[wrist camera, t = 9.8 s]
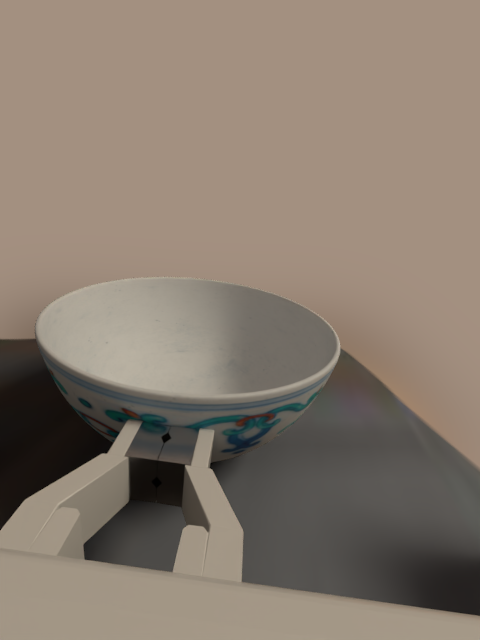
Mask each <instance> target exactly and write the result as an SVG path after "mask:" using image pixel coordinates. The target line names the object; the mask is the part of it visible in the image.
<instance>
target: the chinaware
mask: <svg viewBox="0 0 480 640" xmlns="http://www.w3.org/2000/svg"><path fill="white" fill-rule="evenodd" d="M35 336H36V340H37V344H38V347H39V349H40V352H41V354H42V357H43V359H44V361H45V364H46V366H47V368H48V370H49V372H50V374H51V376H52V378H53V380H54V381H55V383H56V385H57V387H58V388H59V390H60V391H61V393H62V394H63V396H64V397H65V399H66V400H67V401H68V403H69V404H70V405H71V406H72V408H73V409H74V410H75V411H76V412H77V414H78V415H79V416H80V417H81V418H82V419H83V420H84V421H85V422H86V423H87V424H88V425H90V426H91V427H92V428H93V429H94V430H95V431H97V432H98V433H99V434H101V435H102V436H103V437H105V438H106V439H108V440H110V441H111V442H113V443H114V441H115V440H116V438H117V436H118V435H119V433H120V431H121V430H122V428H123V426H124V425H125V423H126V422H127V420H129V419H134V420H140V421H144V422H150V423H156V424H163V425H170V426H179V427H189V428H198V429H200V428H202V429H210V430H214V440H213V448H212V456H211V463H212V462H216V461H221V460H226V459H230V458H233V457H237V456H240V455H242V454H245V453H248V452H250V451H252V450H254V449H256V448H259V447H260V446H262V445H264V444H266V443H268V442H269V441H271V440H273V439H274V438H276V437H277V436H278V435H280V434H281V433H282V432H284V431H285V430H286V429H287V428H289V427H290V426H291V425H292V424H293V423H294V422H295V421H296V420H297V419H298V418H299V417H300V416H301V415H302V414H303V413H304V412H305V411H306V409H307V408H308V407H309V406H310V405H311V403H312V402H313V401H314V400H315V398H316V397H317V395H318V394H319V392H320V391H321V389H322V388H323V386H324V385H325V383H326V382H327V380H328V378H329V376H330V374H331V373H332V371H333V369H334V367H335V365H336V363H337V360H338V358H339V354H340V342H339V338H338V336H337V334H336V332H335V331H334V329H333V328H332V327H331V325H330V324H329V323H328V322H327V321H325V320H324V319H323V318H322V317H321V316H319V315H318V314H317V313H315V312H314V311H312V310H310V309H309V308H306V307H305V306H303V305H301V304H299V303H297V302H295V301H292V300H290V299H288V298H285V297H283V296H280V295H277V294H274V293H271V292H268V291H264V290H261V289H257V288H253V287H249V286H245V285H239V284H234V283H229V282H223V281H216V280H208V279H198V278H183V277H144V278H131V279H123V280H115V281H109V282H104V283H99V284H94V285H90V286H87V287H84V288H80V289H77V290H75V291H72V292H70V293H67V294H65V295H63V296H61V297H59V298H58V299H56V300H54V301H53V302H51V303H50V304H49V305H48V306H47V307H45V308H44V309H43V311H42V312H41V313H40V315H39V316H38V318H37V321H36V324H35Z"/></svg>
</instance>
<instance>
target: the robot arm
mask: <svg viewBox="0 0 480 640" xmlns="http://www.w3.org/2000/svg"><path fill="white" fill-rule="evenodd" d="M213 440H214V430H210V429H202V428H200V429H198V428H189V427H179V426H170V425H163V424H156V423H150V422H144V421H140V420H134V419H129V420H127V422H126V423H125V425H124V426H123V428H122V430H121V431H120V433H119V435H118V436H117V438H116V440H115V441H114V443H113V444H112V446H111V448H110V449H109V451H108V453H107V454H103V453H102V454H100V455H99V456H97V457H95V458H94V459H92V460H90V461H89V462H87V463H85V464H84V465H82V466H80V467H79V468H77V469H75V470H74V471H72V472H70V473H69V474H67V475H65V476H64V477H62V478H60V479H59V480H57V481H55V482H54V483H52V484H50V485H49V486H47V487H45V488H44V489H42V490H40V491H39V492H37V493H35V494H34V495H32V496H30V497H29V498H27V499H25V500H24V501H23V503H22V504H21V505H20V506H19V508H18V509H17V510H16V511H15V513H14V514H13V515H12V516H11V518H10V519H9V520H8V521H7V523H6V524H5V525H4V526H3V528H2V529H1V530H0V640H480V616H477V615H470V614H463V613H456V612H449V611H442V610H435V609H428V608H421V607H414V606H407V605H400V604H393V603H386V602H379V601H372V600H365V599H358V598H351V597H344V596H337V595H330V594H323V593H316V592H309V591H302V590H295V589H288V588H281V587H274V586H267V585H260V584H253V583H246V582H241V580H242V555H243V530H242V528H241V526H240V524H239V522H238V520H237V518H236V516H235V514H234V512H233V510H232V508H231V506H230V504H229V502H228V500H227V498H226V496H225V494H224V492H223V490H222V488H221V486H220V484H219V482H218V480H217V478H216V476H215V474H214V472H213V470H212V469H210V463H211V456H212V448H213ZM129 500H136V501H145V502H154V503H160V504H166V505H172V506H178V507H182V511H183V515H184V518H185V522H186V525H187V526H186V527H185V528H184V529H183V531H182V536H181V540H180V544H179V548H178V552H177V556H176V560H175V564H174V568H173V572H168V571H161V570H154V569H147V568H140V567H132V566H125V565H118V564H111V563H104V562H97V561H90V560H85V558H84V548H83V544H84V543H85V542H86V541H87V540H88V539H89V538H91V537H92V536H93V535H94V534H95V533H96V532H97V531H98V530H99V529H100V528H101V527H102V526H103V525H104V524H106V523H107V522H108V521H109V520H110V519H111V518H112V517H113V516H114V515H115V514H116V513H117V512H118V511H119V510H120V509H122V508H123V507H124V506H125V505H126V504H127V503H128V502H129Z"/></svg>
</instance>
